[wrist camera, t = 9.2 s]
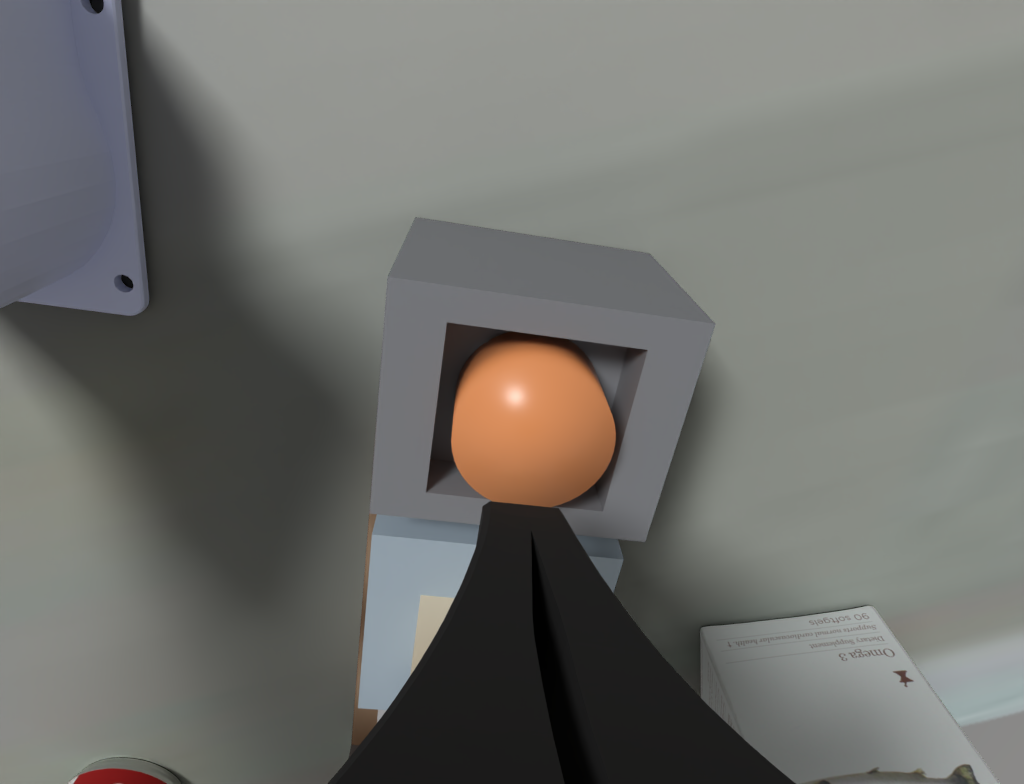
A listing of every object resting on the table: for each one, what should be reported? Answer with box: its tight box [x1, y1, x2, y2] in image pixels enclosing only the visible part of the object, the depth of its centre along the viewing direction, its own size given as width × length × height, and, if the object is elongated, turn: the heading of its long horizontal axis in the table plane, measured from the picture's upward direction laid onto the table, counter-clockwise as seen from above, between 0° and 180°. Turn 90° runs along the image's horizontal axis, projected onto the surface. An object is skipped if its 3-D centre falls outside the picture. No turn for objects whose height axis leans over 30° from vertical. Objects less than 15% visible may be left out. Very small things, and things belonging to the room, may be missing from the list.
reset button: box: [451, 331, 616, 507], centre depth 15 cm, size 4×4×2 cm
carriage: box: [358, 514, 624, 710], centre depth 18 cm, size 7×7×6 cm
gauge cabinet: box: [369, 217, 715, 542], centre depth 17 cm, size 6×8×6 cm
